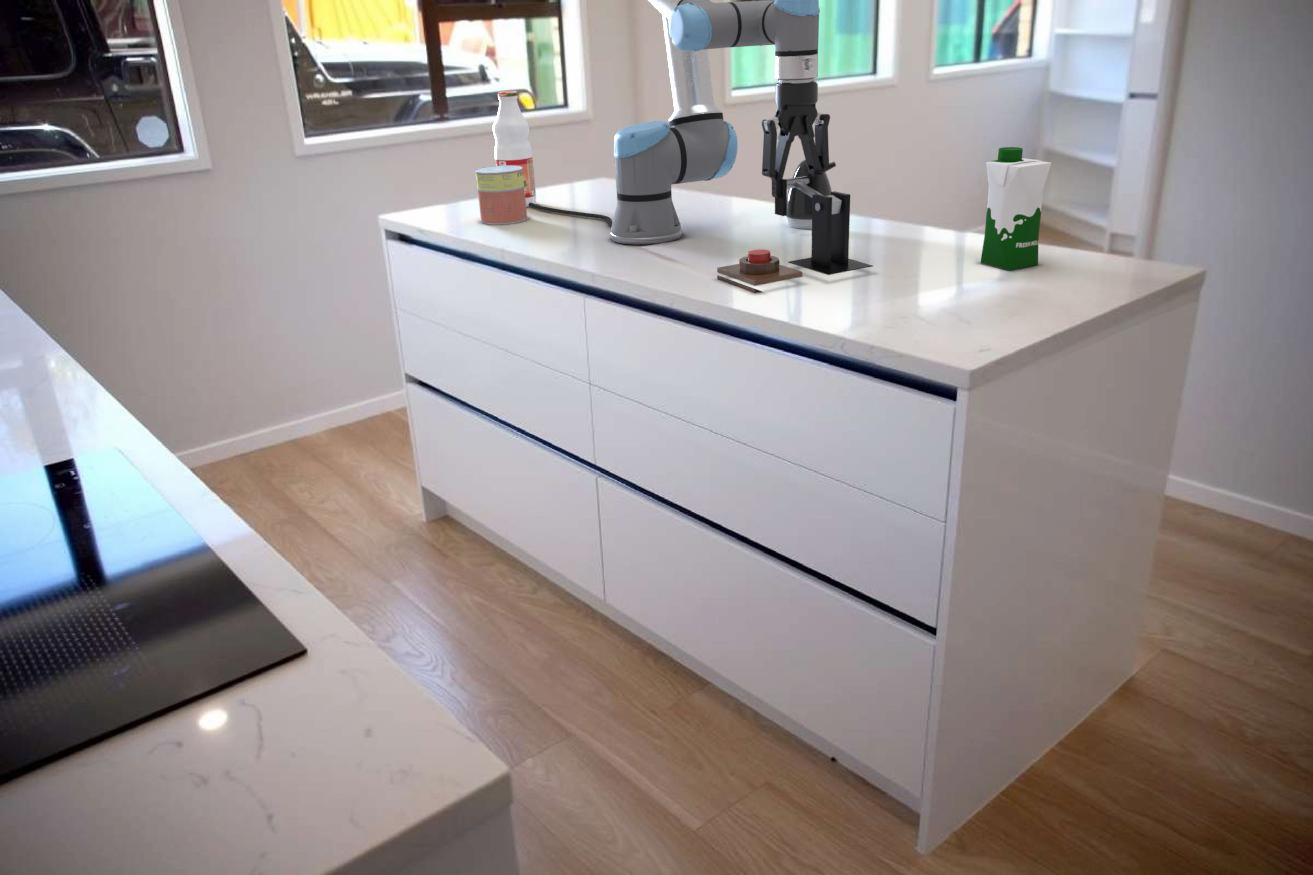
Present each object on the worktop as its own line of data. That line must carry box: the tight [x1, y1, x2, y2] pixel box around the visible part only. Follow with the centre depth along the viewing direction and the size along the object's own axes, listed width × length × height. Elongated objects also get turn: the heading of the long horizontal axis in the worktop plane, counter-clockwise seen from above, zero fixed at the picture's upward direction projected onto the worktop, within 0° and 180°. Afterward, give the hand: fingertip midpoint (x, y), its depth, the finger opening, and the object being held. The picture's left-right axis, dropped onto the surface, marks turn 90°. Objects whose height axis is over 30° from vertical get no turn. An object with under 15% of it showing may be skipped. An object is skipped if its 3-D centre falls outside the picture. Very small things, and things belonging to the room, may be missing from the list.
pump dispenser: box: [785, 159, 837, 230], centre depth 210 cm, size 10×10×15 cm
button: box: [747, 248, 772, 263], centre depth 174 cm, size 4×4×2 cm
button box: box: [716, 255, 803, 294], centre depth 175 cm, size 12×10×4 cm
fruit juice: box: [492, 90, 537, 208], centre depth 252 cm, size 9×9×28 cm
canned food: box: [474, 165, 529, 226], centre depth 238 cm, size 11×11×12 cm
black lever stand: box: [787, 190, 874, 276], centre depth 178 cm, size 12×10×14 cm
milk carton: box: [979, 146, 1052, 271], centre depth 176 cm, size 9×9×20 cm
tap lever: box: [785, 176, 842, 214], centre depth 179 cm, size 13×6×2 cm, turn 29°
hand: (795, 212), depth 185 cm, fingers closed on tap lever, 6 cm apart
